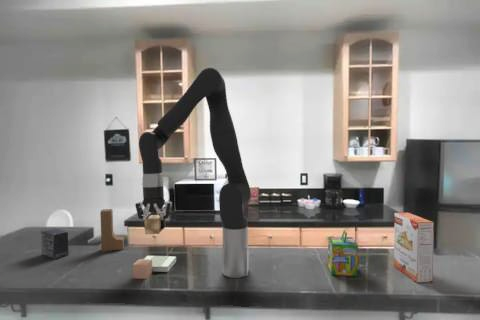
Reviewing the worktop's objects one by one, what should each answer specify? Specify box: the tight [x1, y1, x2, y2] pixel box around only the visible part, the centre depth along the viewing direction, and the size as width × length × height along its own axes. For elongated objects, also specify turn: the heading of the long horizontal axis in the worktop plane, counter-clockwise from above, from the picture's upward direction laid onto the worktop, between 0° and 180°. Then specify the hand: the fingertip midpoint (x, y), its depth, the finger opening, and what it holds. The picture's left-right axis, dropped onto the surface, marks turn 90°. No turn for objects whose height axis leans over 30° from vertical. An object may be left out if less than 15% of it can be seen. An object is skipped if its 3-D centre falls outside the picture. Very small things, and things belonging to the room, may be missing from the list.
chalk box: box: [327, 230, 359, 277], centre depth 110 cm, size 9×9×15 cm
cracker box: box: [393, 212, 435, 283], centre depth 107 cm, size 14×6×21 cm, turn 3°
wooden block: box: [99, 208, 125, 252], centre depth 135 cm, size 9×4×18 cm, turn 106°
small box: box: [40, 228, 70, 260], centre depth 128 cm, size 11×6×10 cm, turn 58°
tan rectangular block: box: [144, 214, 163, 235], centre depth 114 cm, size 5×9×5 cm, turn 2°
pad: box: [143, 255, 177, 273], centre depth 116 cm, size 12×11×2 cm
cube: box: [132, 258, 153, 280], centre depth 108 cm, size 5×5×5 cm
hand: (154, 229), depth 114 cm, fingers closed on tan rectangular block, 5 cm apart
